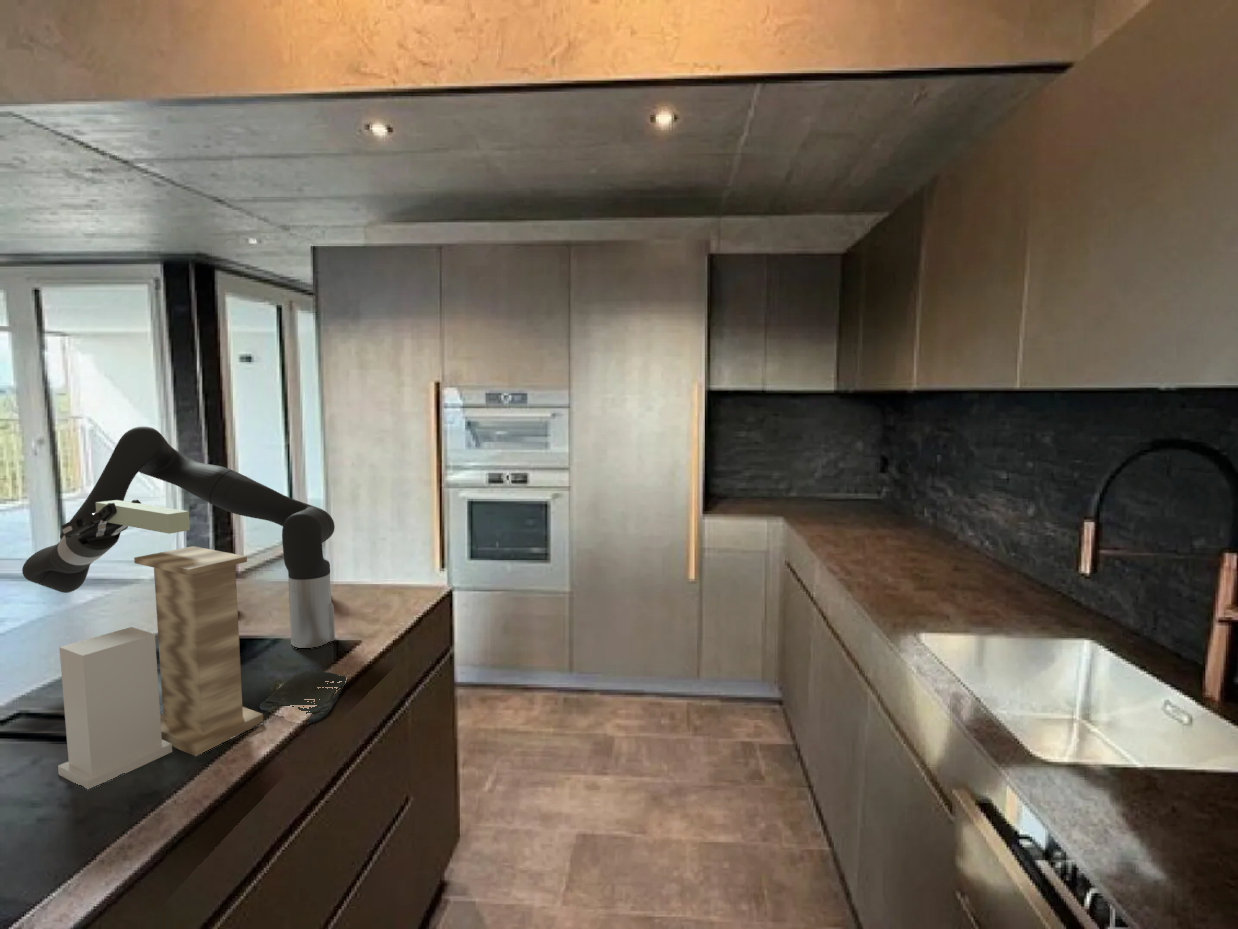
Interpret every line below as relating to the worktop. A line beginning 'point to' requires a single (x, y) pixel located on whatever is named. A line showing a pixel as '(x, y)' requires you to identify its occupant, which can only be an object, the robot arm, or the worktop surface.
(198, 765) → the worktop surface
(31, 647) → the worktop surface
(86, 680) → the pedestal
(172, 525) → the bar
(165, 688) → the stand
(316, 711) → the stone slab
